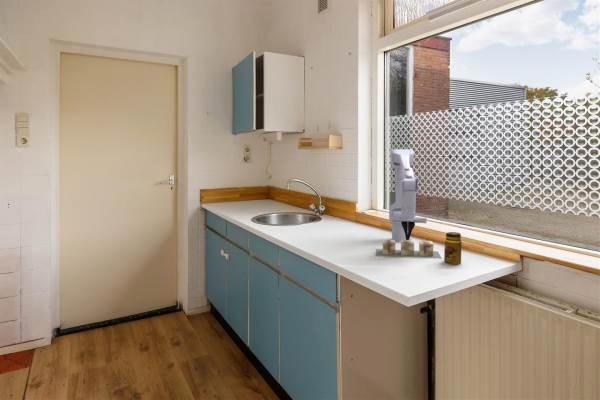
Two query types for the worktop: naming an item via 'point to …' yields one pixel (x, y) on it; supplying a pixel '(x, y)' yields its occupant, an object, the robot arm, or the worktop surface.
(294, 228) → the worktop surface
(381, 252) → the slate mat
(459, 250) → the condiment
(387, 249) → the block one
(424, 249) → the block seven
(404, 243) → the plain block
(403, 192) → the robot arm
